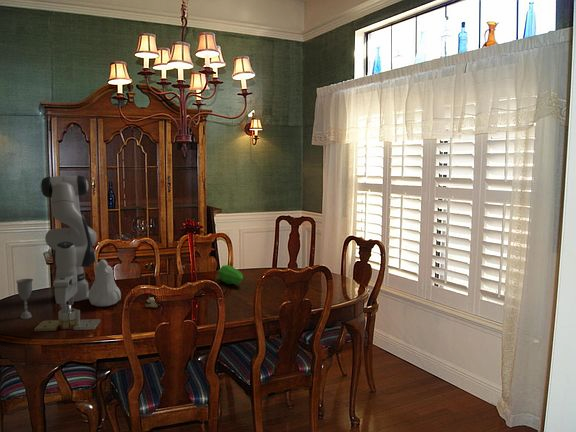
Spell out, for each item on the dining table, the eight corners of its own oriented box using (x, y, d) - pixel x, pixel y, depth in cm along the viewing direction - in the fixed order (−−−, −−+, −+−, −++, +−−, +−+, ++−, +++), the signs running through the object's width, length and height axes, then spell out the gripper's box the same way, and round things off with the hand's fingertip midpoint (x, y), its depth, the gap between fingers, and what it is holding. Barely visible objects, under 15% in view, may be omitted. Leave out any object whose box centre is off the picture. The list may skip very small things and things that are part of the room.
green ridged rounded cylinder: (225, 260, 321) (246, 267, 295) (232, 275, 324) (253, 283, 299) (210, 268, 316) (231, 276, 290) (217, 283, 319) (238, 293, 293)
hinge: (43, 323, 230) (42, 307, 229) (100, 321, 234) (99, 306, 233) (34, 331, 219) (33, 315, 219) (94, 329, 223) (93, 313, 222)
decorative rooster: (121, 308, 254) (120, 261, 252) (88, 311, 249) (86, 262, 246) (120, 295, 278) (119, 252, 275) (90, 298, 273) (89, 253, 270)
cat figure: (188, 302, 273) (142, 304, 260) (189, 286, 272) (143, 288, 260) (194, 306, 265) (147, 309, 252) (195, 290, 264) (148, 292, 251)
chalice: (30, 313, 244) (29, 277, 242) (37, 316, 239) (35, 280, 237) (15, 317, 238) (13, 280, 236) (21, 320, 234) (19, 283, 232)
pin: (66, 325, 228) (65, 304, 227) (72, 325, 228) (72, 304, 227) (63, 327, 225) (63, 306, 224) (70, 327, 225) (70, 305, 224)
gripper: (66, 273, 234) (67, 301, 235) (51, 283, 214) (53, 315, 215) (80, 273, 235) (81, 301, 236) (67, 283, 214) (68, 314, 216)
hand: (67, 308), depth 226 cm, fingers open, 8 cm apart
